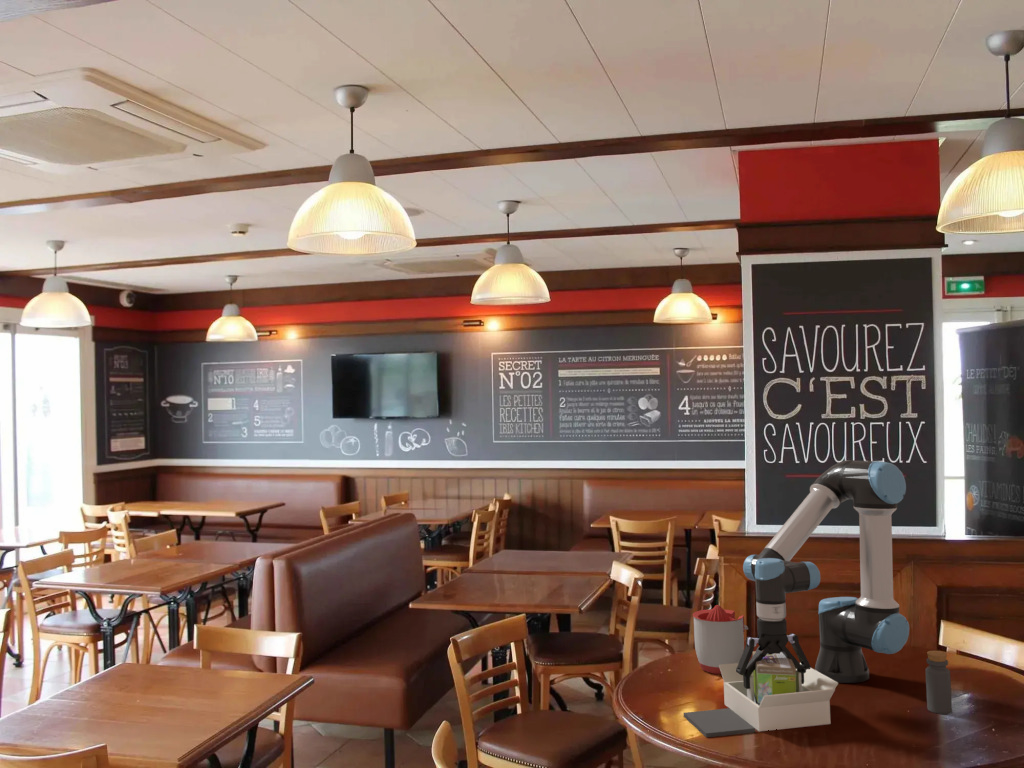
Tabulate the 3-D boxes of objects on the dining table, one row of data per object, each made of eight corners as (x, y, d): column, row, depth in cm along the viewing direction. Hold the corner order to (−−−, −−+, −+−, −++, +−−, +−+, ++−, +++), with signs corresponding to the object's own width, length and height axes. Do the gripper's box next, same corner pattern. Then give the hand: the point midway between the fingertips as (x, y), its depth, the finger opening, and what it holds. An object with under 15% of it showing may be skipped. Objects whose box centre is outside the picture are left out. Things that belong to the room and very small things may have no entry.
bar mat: (729, 711, 227) (729, 708, 227) (755, 732, 213) (754, 728, 213) (683, 716, 225) (683, 712, 225) (706, 737, 210) (706, 733, 210)
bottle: (950, 707, 225) (947, 650, 226) (953, 715, 220) (950, 656, 220) (925, 705, 227) (923, 649, 228) (929, 713, 222) (926, 655, 222)
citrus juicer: (760, 673, 259) (758, 607, 260) (708, 679, 255) (705, 612, 256) (735, 659, 274) (733, 597, 275) (686, 664, 270) (683, 601, 271)
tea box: (798, 725, 216) (796, 667, 217) (758, 723, 218) (755, 665, 219) (791, 705, 231) (789, 650, 232) (753, 703, 233) (751, 649, 234)
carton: (795, 692, 241) (793, 657, 241) (849, 727, 214) (847, 687, 214) (719, 700, 237) (718, 664, 237) (765, 736, 210) (763, 695, 210)
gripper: (733, 624, 220) (736, 707, 219) (821, 617, 224) (825, 698, 224) (721, 617, 227) (724, 697, 226) (807, 611, 232) (810, 690, 231)
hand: (774, 698), depth 225 cm, fingers open, 13 cm apart
